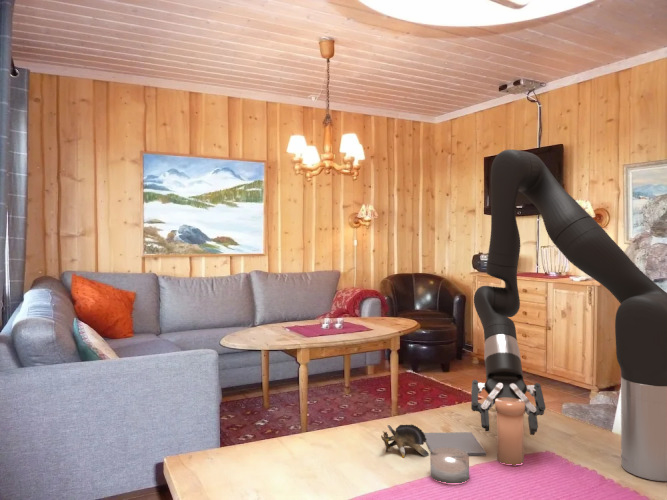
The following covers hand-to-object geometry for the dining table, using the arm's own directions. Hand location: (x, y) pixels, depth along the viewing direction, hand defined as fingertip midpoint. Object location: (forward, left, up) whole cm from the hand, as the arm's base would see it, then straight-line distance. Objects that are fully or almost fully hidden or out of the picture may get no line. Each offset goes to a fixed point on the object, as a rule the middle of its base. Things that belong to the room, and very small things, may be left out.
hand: (510, 431), depth 99 cm
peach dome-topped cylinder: (0, 0, -6) cm, 6 cm away
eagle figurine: (+20, -4, -6) cm, 22 cm away
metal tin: (+13, +6, -6) cm, 16 cm away
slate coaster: (+9, -8, -6) cm, 14 cm away
